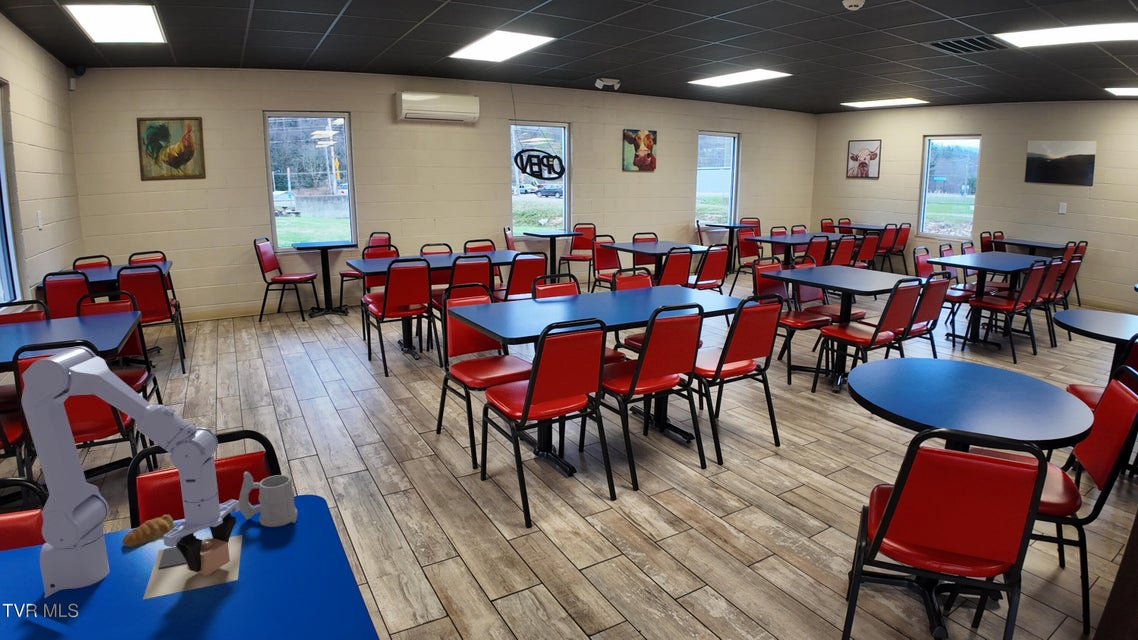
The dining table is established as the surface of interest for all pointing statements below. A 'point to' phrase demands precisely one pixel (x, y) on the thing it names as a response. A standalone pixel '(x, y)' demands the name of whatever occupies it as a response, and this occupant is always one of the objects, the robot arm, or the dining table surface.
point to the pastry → (149, 531)
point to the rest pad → (171, 558)
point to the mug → (270, 500)
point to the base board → (192, 574)
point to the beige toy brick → (213, 555)
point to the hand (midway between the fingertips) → (208, 562)
